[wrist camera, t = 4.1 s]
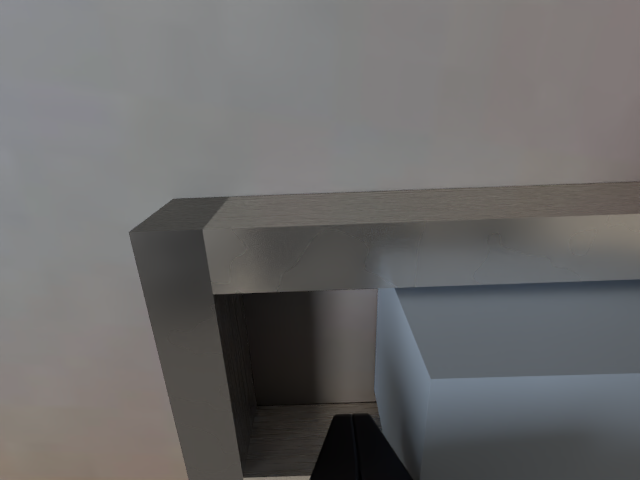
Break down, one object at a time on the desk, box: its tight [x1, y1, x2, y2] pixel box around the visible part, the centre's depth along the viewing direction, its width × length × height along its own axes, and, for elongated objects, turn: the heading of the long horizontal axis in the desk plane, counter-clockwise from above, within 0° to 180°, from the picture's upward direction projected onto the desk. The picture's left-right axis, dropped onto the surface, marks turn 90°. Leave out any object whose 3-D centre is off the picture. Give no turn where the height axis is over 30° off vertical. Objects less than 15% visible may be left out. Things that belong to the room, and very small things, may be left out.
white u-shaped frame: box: [129, 182, 640, 480], centre depth 10 cm, size 16×9×2 cm, turn 92°
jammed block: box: [374, 279, 640, 480], centre depth 9 cm, size 7×5×5 cm
